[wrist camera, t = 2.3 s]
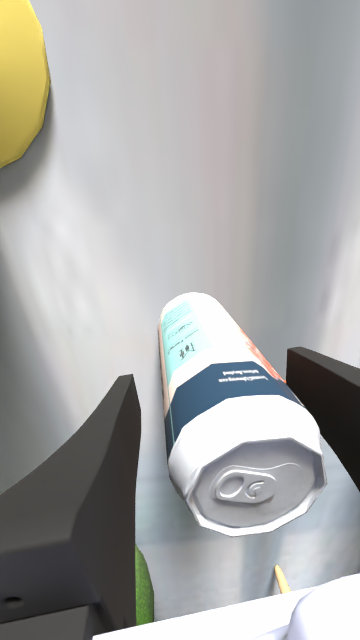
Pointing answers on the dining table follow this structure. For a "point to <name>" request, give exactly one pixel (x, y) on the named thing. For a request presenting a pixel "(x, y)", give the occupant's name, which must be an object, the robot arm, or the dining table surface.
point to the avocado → (143, 591)
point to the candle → (21, 79)
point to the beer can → (232, 425)
